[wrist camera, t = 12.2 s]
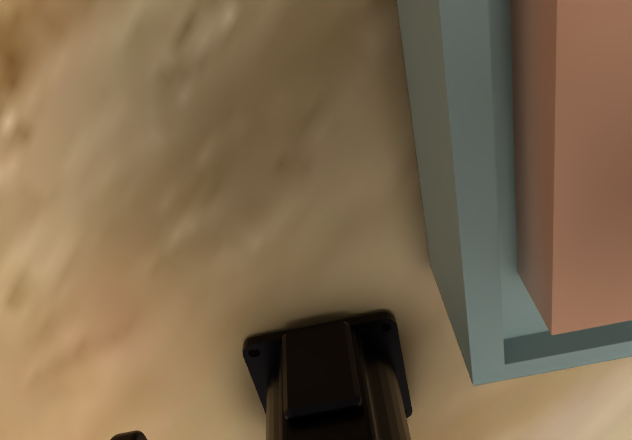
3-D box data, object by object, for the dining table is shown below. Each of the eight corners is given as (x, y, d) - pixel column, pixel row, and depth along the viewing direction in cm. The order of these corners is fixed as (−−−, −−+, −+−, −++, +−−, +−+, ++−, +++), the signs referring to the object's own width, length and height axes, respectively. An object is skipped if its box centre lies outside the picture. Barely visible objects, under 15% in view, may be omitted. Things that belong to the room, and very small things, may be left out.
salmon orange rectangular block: (669, 242, 17) (726, 302, 15) (517, 272, 18) (551, 335, 15) (729, -159, 12) (832, -155, 10) (507, -106, 12) (558, -90, 10)
